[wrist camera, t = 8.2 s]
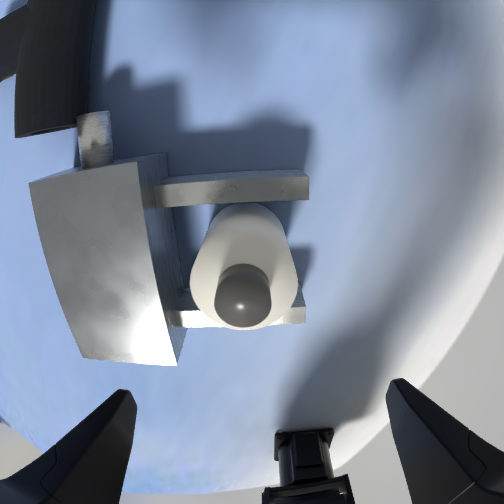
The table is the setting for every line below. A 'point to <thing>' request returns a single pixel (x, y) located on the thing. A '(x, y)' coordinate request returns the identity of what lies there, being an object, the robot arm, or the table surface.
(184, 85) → the table surface
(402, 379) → the robot arm
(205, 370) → the table surface
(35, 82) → the pipe connector
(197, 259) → the white cylinder
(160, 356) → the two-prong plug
